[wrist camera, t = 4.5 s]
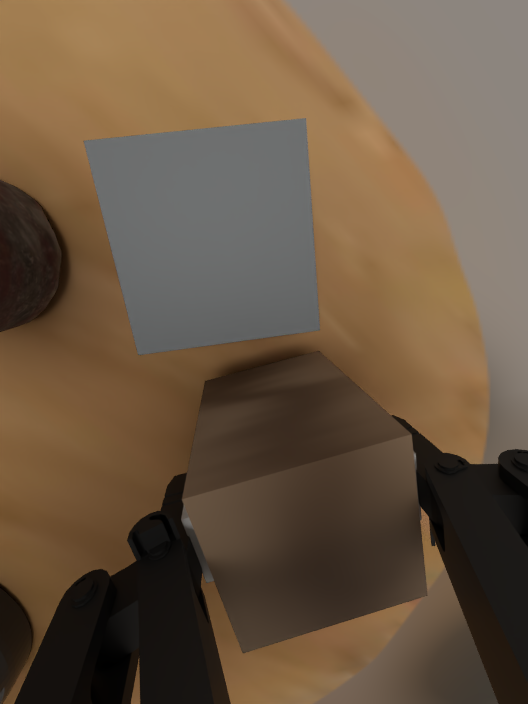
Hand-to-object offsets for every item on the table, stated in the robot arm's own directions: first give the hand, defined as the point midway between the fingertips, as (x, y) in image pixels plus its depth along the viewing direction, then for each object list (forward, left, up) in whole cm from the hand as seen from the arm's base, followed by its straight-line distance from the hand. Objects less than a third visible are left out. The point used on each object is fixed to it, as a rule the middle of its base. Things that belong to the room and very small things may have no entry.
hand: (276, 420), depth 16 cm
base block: (-1, +9, -4) cm, 10 cm away
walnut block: (0, 0, 0) cm, 0 cm away
